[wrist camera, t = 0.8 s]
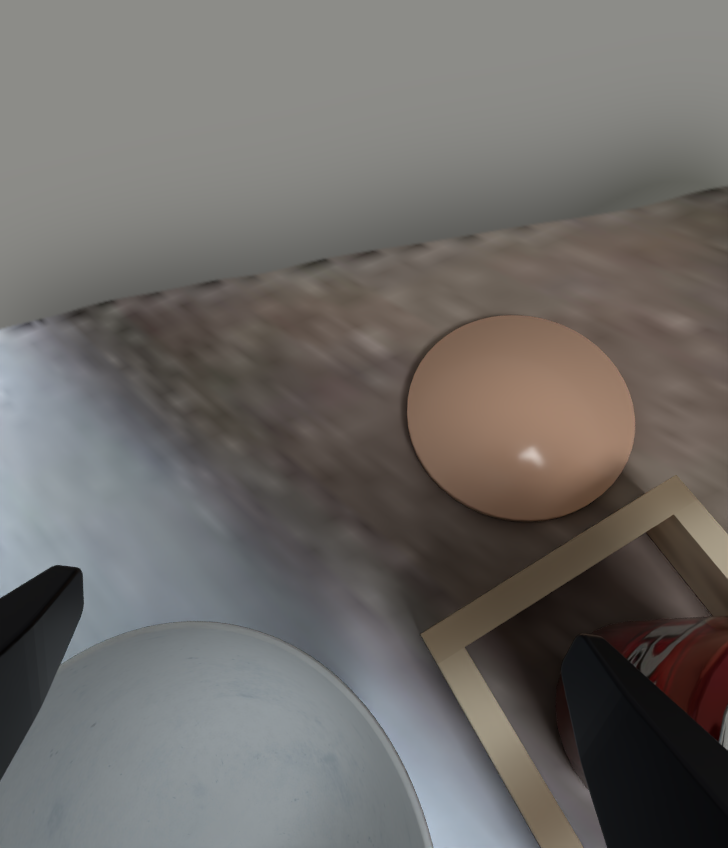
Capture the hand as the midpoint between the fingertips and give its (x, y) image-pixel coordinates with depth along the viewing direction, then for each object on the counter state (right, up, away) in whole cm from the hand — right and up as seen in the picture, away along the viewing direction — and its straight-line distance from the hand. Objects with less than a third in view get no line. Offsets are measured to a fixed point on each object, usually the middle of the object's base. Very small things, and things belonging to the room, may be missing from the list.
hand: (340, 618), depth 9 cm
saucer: (+8, +4, +17) cm, 19 cm away
